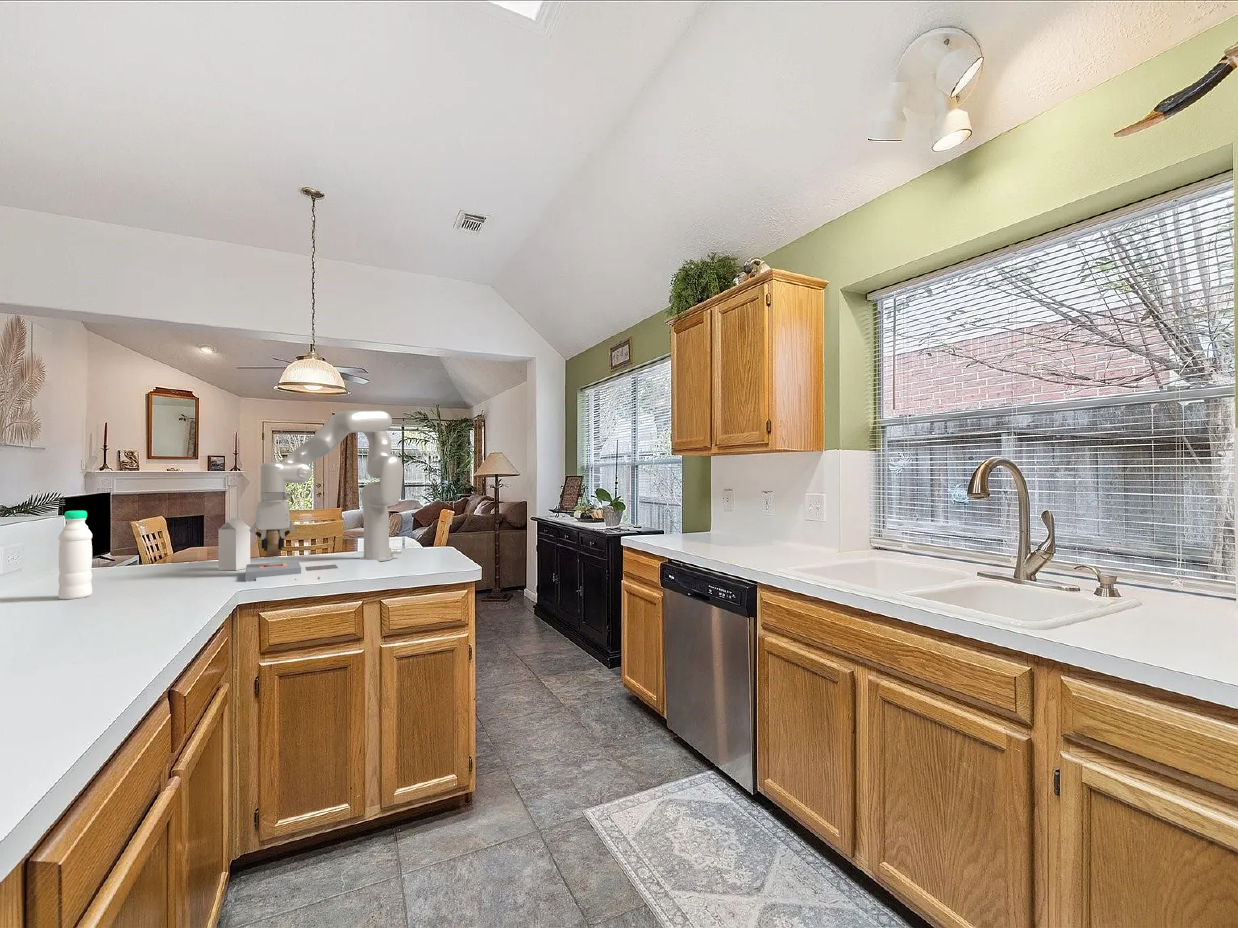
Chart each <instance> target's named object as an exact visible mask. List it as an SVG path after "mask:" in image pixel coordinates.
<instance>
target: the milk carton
mask: <svg viewBox="0 0 1238 928" xmlns="http://www.w3.org/2000/svg"><path fill="white" fill-rule="evenodd" d="M250 529H251V527H250V526H249V525H248V524H247V523H246V522H245V521H243V517H233V518H232V517H231V518H227V519H226V522H225V523H224V524H222V526H221V527H219V528H218V535H217V536H218V541H217V542H218V550H217V551H218V558H217V559H218V561H217V563H218V571H239V570H246V566H247V564H251V532H250V531H249V530H250Z"/></svg>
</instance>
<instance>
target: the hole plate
mask: <svg viewBox="0 0 1238 928" xmlns="http://www.w3.org/2000/svg"><path fill="white" fill-rule="evenodd" d="M301 566H302V565H301V564H300V561H299V560H287V561H275V562H263V563H262V562H261V563H250V564H247V566H246V568H245V571H244V573H245V575H244V578H245V579H244V581H245V582H256V581H257V578H268V577H278V576H288V575H289V576H291V575H300V574H301V575H302V567H301Z"/></svg>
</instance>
